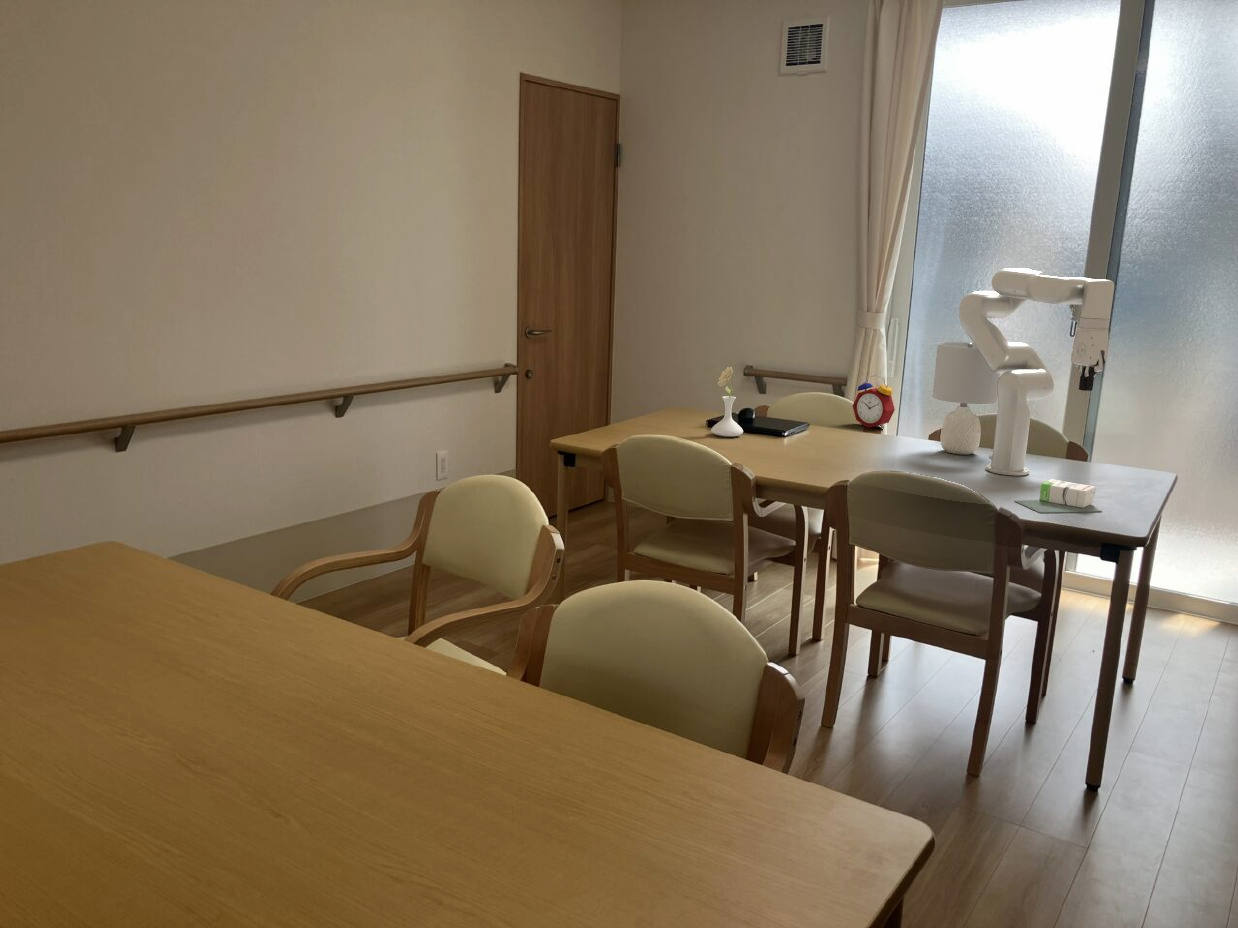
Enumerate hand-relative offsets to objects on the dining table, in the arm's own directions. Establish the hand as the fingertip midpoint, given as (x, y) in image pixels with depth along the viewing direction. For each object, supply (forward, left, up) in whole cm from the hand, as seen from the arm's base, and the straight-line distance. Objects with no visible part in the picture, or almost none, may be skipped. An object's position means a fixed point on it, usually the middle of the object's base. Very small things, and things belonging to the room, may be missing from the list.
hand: (1085, 390), depth 280 cm
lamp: (-52, -7, -29) cm, 60 cm away
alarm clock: (-100, -16, -29) cm, 105 cm away
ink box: (+9, -15, -26) cm, 31 cm away
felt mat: (+17, -16, -29) cm, 37 cm away
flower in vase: (-83, -79, -29) cm, 118 cm away
